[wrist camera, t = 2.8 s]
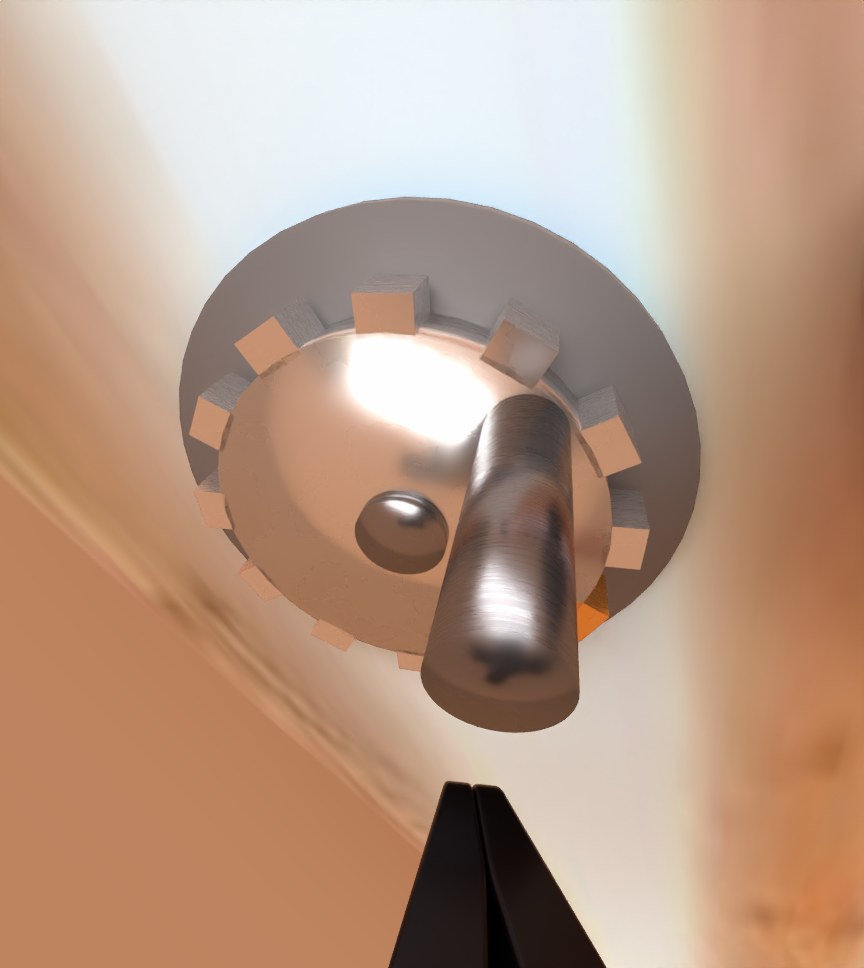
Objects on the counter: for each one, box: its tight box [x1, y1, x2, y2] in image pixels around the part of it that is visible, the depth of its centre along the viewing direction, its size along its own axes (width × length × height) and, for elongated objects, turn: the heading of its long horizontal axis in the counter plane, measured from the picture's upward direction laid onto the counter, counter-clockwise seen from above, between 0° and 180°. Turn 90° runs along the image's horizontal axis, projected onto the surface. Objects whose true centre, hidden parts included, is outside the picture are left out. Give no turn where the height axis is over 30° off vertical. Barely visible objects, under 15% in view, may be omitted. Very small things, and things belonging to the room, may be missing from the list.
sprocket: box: [189, 274, 650, 733], centre depth 15 cm, size 15×15×10 cm
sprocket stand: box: [179, 197, 700, 622], centre depth 19 cm, size 19×19×2 cm
